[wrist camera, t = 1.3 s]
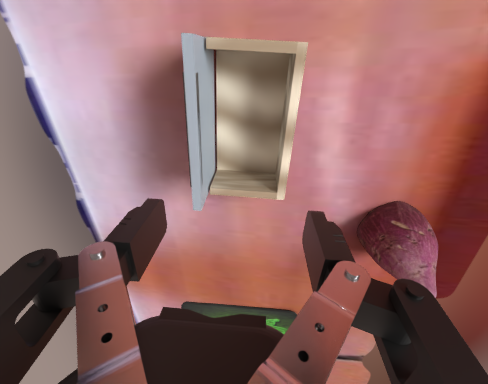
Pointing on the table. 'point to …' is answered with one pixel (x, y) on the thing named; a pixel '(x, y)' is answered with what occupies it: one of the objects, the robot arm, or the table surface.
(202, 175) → the cabinet door
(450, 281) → the table surface
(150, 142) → the table surface
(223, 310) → the mouse mat
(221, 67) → the box
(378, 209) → the vegetable
